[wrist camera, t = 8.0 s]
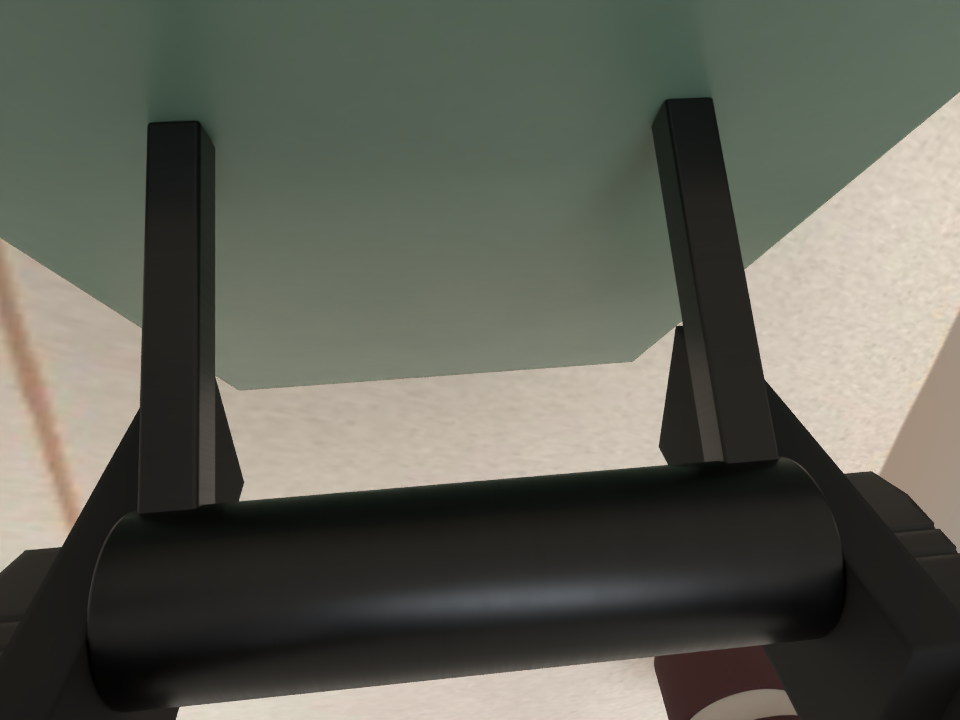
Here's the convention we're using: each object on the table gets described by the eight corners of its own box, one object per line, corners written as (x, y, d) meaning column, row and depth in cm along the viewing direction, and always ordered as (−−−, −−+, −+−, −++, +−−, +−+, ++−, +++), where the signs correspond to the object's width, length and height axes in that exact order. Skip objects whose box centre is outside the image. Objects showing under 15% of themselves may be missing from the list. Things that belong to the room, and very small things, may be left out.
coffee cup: (602, 634, 53) (667, 852, 40) (664, 545, 48) (758, 759, 36) (709, 652, 56) (802, 863, 43) (777, 570, 51) (903, 777, 38)
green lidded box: (-404, -112, 6) (-658, 896, 4) (1136, -140, 7) (1433, 653, 6) (237, 368, 26) (239, 588, 24) (630, 340, 27) (659, 549, 25)
